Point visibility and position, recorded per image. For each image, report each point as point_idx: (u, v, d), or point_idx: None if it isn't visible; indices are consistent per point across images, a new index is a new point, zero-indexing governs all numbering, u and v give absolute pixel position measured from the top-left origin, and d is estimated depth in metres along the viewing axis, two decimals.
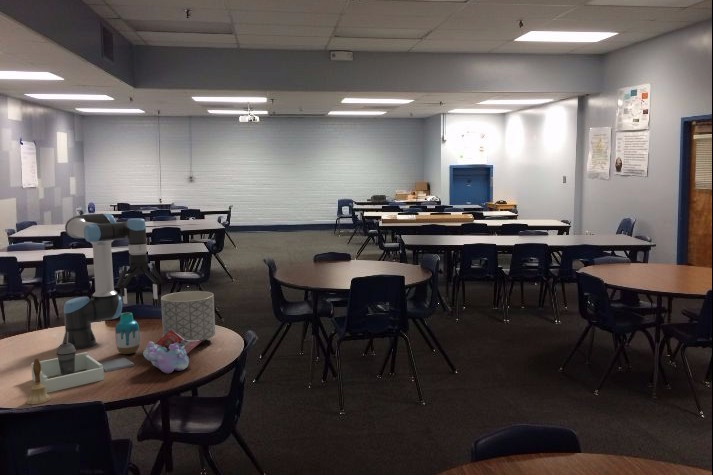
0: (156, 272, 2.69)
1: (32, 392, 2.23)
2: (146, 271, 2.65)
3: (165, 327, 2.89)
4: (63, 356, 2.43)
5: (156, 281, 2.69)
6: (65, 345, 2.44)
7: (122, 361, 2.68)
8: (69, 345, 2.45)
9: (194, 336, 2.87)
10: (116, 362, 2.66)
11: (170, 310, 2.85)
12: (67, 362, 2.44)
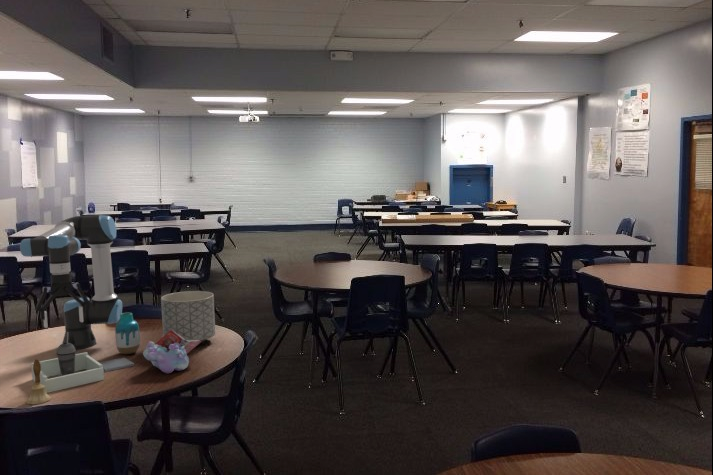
0: (82, 293, 2.48)
1: (32, 392, 2.23)
2: (70, 292, 2.44)
3: (165, 327, 2.89)
4: (63, 356, 2.43)
5: (82, 303, 2.48)
6: (65, 345, 2.44)
7: (122, 361, 2.68)
8: (69, 345, 2.45)
9: (194, 336, 2.87)
10: (116, 362, 2.66)
11: (170, 310, 2.85)
12: (67, 362, 2.44)
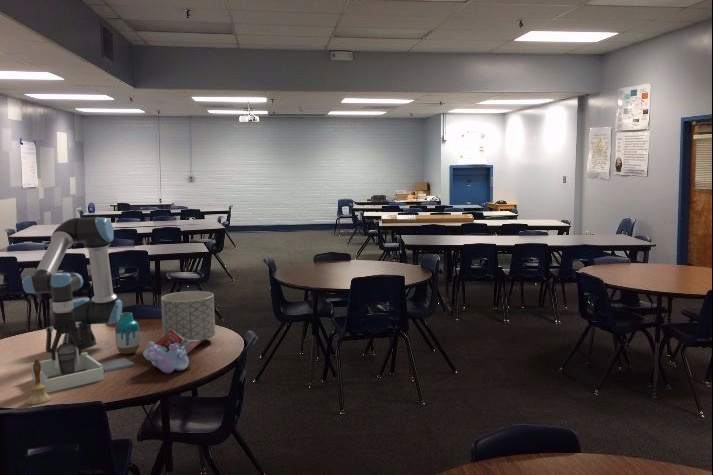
0: (81, 333, 2.49)
1: (32, 392, 2.23)
2: (71, 331, 2.46)
3: (165, 327, 2.89)
4: (63, 356, 2.43)
5: (78, 344, 2.48)
6: (65, 345, 2.44)
7: (122, 361, 2.68)
8: (69, 345, 2.45)
9: (194, 336, 2.87)
10: (116, 362, 2.66)
11: (170, 310, 2.85)
12: (67, 362, 2.44)
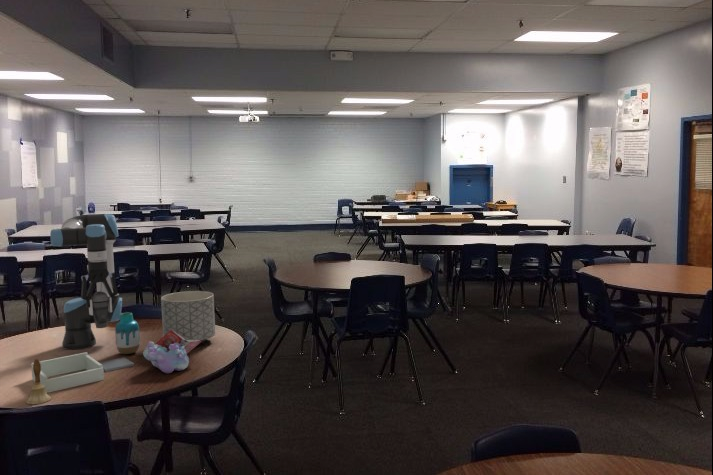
0: (114, 283, 2.60)
1: (32, 392, 2.23)
2: (105, 280, 2.57)
3: (165, 327, 2.89)
4: (97, 304, 2.54)
5: (111, 293, 2.59)
6: (99, 293, 2.56)
7: (122, 361, 2.68)
8: (103, 293, 2.56)
9: (194, 336, 2.87)
10: (116, 362, 2.66)
11: (170, 310, 2.85)
12: (101, 309, 2.56)
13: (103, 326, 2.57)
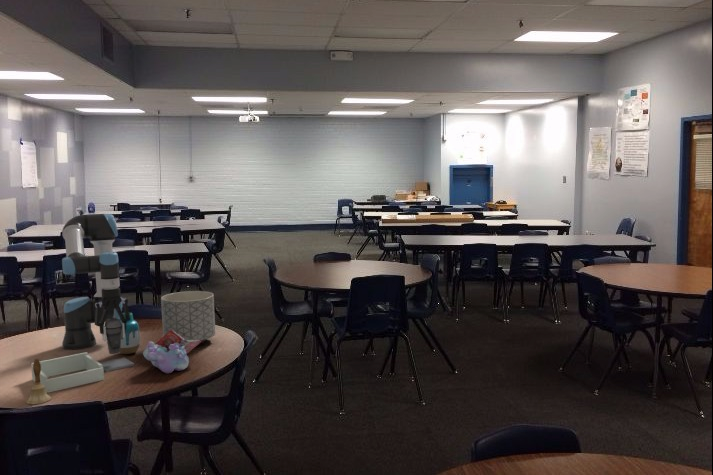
0: (126, 309, 2.65)
1: (32, 392, 2.23)
2: (118, 307, 2.62)
3: (165, 327, 2.89)
4: (111, 330, 2.60)
5: (124, 319, 2.65)
6: (112, 320, 2.61)
7: (122, 361, 2.68)
8: (116, 320, 2.62)
9: (194, 336, 2.87)
10: (116, 362, 2.66)
11: (170, 310, 2.85)
12: (114, 335, 2.61)
13: (116, 352, 2.63)
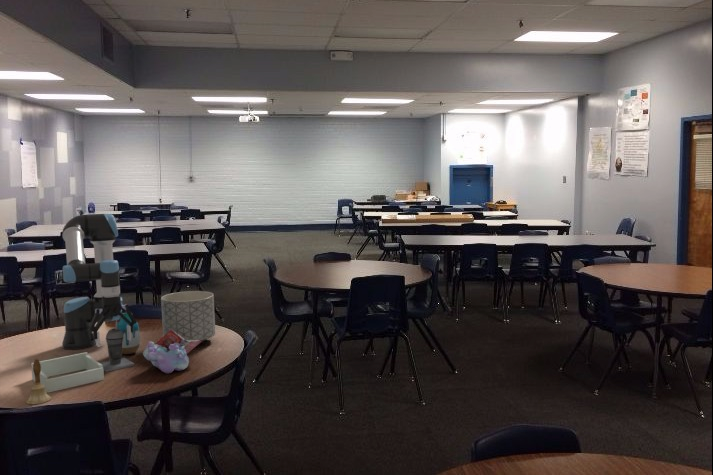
0: (130, 313, 2.67)
1: (32, 392, 2.23)
2: (120, 313, 2.63)
3: (165, 327, 2.89)
4: (112, 341, 2.61)
5: (130, 323, 2.67)
6: (114, 330, 2.62)
7: (122, 361, 2.68)
8: (118, 331, 2.63)
9: (194, 336, 2.87)
10: None
11: (170, 310, 2.85)
12: (116, 346, 2.62)
13: (117, 362, 2.63)
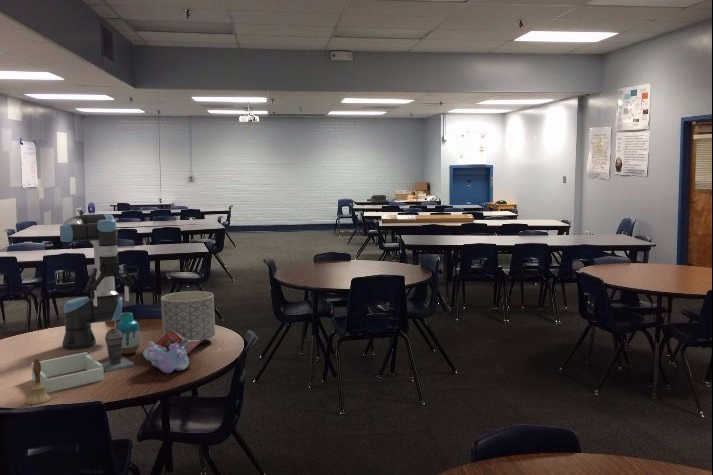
0: (127, 274, 2.65)
1: (32, 392, 2.23)
2: (117, 273, 2.61)
3: (165, 327, 2.89)
4: (112, 341, 2.61)
5: (127, 283, 2.65)
6: (113, 331, 2.62)
7: (122, 361, 2.68)
8: (117, 331, 2.63)
9: (194, 336, 2.87)
10: None
11: (170, 310, 2.85)
12: (115, 347, 2.62)
13: (117, 362, 2.63)
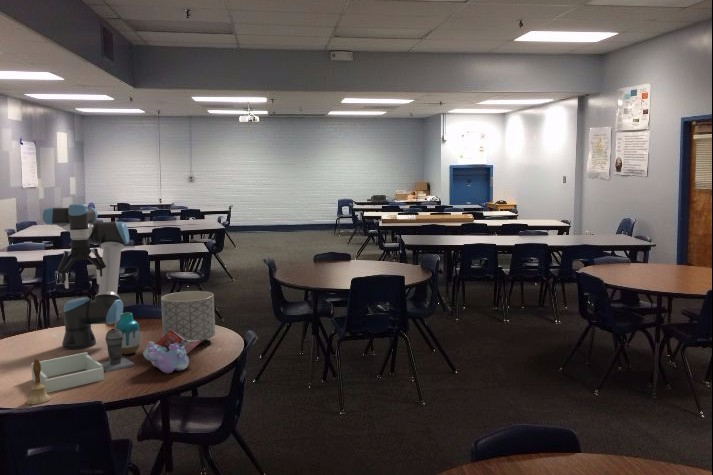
0: (99, 257, 2.71)
1: (32, 392, 2.23)
2: (89, 257, 2.67)
3: (165, 327, 2.89)
4: (112, 341, 2.61)
5: (99, 266, 2.71)
6: (113, 331, 2.62)
7: (122, 361, 2.68)
8: (117, 331, 2.63)
9: (194, 336, 2.87)
10: None
11: (170, 310, 2.85)
12: (116, 346, 2.62)
13: (117, 362, 2.63)
